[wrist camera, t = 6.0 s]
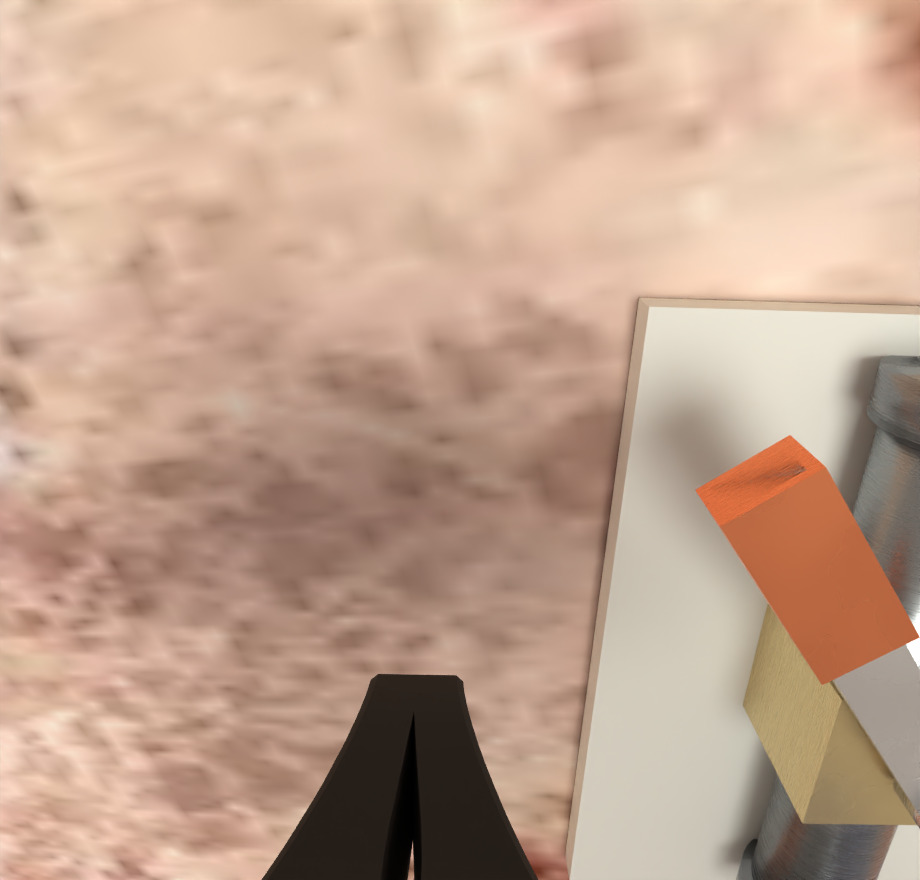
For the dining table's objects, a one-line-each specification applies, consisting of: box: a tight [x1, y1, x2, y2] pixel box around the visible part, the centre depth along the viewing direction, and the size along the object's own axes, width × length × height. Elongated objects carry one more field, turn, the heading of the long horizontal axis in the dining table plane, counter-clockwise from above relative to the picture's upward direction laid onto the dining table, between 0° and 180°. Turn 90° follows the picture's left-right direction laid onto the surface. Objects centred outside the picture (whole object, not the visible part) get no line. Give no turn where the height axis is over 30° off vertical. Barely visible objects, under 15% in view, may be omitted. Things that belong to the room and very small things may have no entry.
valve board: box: [565, 298, 920, 880], centre depth 21 cm, size 20×14×1 cm
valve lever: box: [695, 435, 920, 829], centre depth 15 cm, size 11×2×2 cm, turn 35°
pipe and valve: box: [736, 355, 920, 880], centre depth 19 cm, size 18×5×4 cm, turn 178°
